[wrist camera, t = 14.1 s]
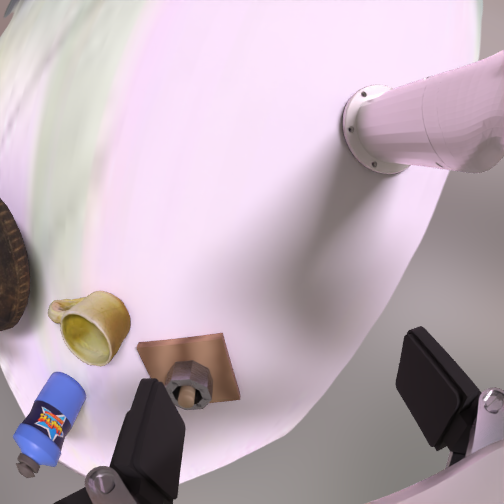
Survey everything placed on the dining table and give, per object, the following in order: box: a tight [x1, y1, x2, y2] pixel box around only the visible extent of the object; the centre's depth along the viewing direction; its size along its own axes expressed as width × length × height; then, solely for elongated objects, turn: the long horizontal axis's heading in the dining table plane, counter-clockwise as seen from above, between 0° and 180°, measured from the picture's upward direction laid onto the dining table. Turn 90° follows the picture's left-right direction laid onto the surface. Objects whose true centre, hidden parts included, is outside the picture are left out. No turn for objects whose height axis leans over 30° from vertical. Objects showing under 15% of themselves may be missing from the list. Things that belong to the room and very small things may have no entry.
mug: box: [48, 291, 131, 366], centre depth 36 cm, size 12×10×10 cm
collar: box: [164, 360, 213, 410], centre depth 40 cm, size 7×7×4 cm
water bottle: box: [13, 372, 86, 478], centre depth 33 cm, size 9×9×25 cm
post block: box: [137, 333, 240, 408], centre depth 40 cm, size 14×14×8 cm
